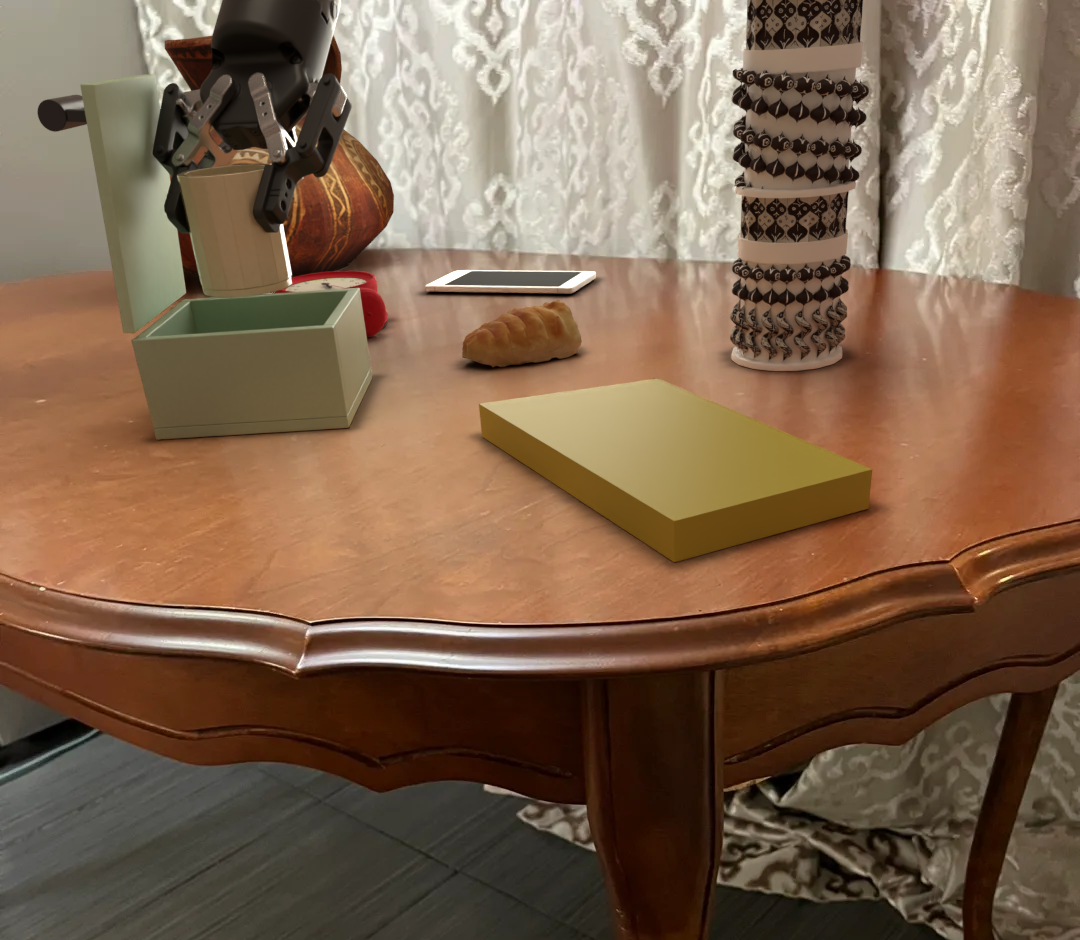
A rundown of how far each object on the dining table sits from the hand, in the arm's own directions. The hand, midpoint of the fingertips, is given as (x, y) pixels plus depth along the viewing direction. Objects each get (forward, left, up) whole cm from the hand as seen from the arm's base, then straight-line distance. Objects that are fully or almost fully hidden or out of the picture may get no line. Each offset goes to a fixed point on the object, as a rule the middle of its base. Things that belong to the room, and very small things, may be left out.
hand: (221, 225), depth 75 cm
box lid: (-5, +2, +2) cm, 6 cm away
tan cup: (+1, +2, -4) cm, 5 cm away
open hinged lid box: (+1, +2, -13) cm, 13 cm away
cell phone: (+18, +40, -13) cm, 45 cm away
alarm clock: (+2, +25, -13) cm, 28 cm away
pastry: (+19, +12, -13) cm, 26 cm away
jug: (-11, +59, -13) cm, 61 cm away
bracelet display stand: (+39, +7, -13) cm, 42 cm away
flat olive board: (+27, -16, -13) cm, 35 cm away
